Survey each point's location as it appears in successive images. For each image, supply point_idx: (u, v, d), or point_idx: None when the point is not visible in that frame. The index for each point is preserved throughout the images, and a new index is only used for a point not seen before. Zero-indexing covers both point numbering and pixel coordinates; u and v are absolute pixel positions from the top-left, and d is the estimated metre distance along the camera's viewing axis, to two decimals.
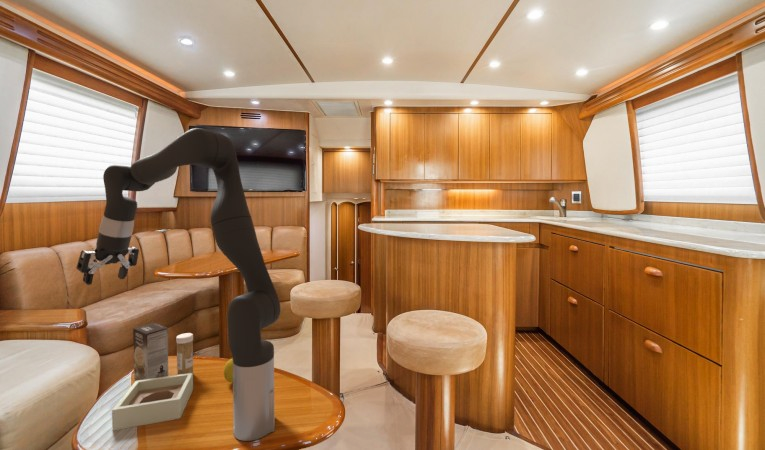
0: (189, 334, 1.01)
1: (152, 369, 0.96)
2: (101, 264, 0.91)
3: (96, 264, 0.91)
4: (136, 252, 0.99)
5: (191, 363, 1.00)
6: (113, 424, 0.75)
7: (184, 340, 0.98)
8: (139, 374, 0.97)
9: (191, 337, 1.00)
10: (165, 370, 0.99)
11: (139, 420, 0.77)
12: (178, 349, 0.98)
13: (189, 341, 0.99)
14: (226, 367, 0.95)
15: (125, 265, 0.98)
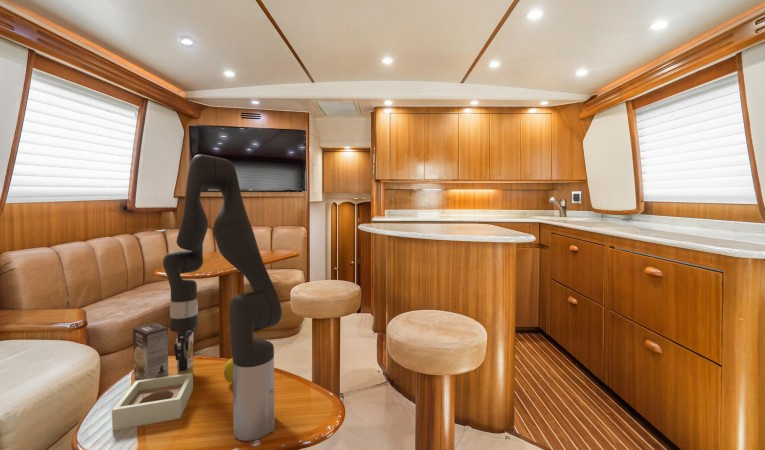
0: (189, 334, 1.01)
1: (152, 369, 0.96)
2: (189, 346, 0.99)
3: (186, 348, 0.98)
4: (193, 331, 1.06)
5: (191, 363, 1.00)
6: (113, 424, 0.75)
7: None
8: (139, 374, 0.97)
9: (191, 337, 1.00)
10: (165, 370, 0.99)
11: (139, 420, 0.77)
12: None
13: None
14: (226, 367, 0.95)
15: None
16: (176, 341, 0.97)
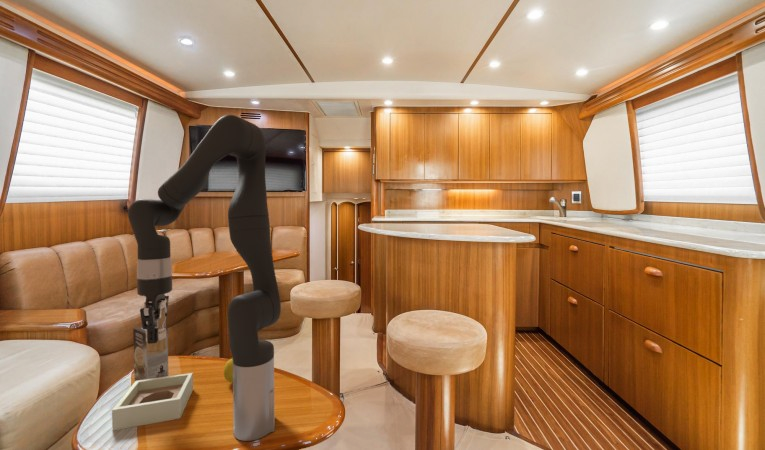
0: (161, 300, 0.84)
1: (152, 369, 0.96)
2: (160, 314, 0.82)
3: (157, 316, 0.81)
4: (167, 299, 0.89)
5: (163, 334, 0.84)
6: (113, 424, 0.75)
7: None
8: (139, 374, 0.97)
9: (163, 303, 0.83)
10: (165, 370, 0.99)
11: (139, 420, 0.77)
12: None
13: None
14: (226, 367, 0.95)
15: None
16: (144, 307, 0.81)
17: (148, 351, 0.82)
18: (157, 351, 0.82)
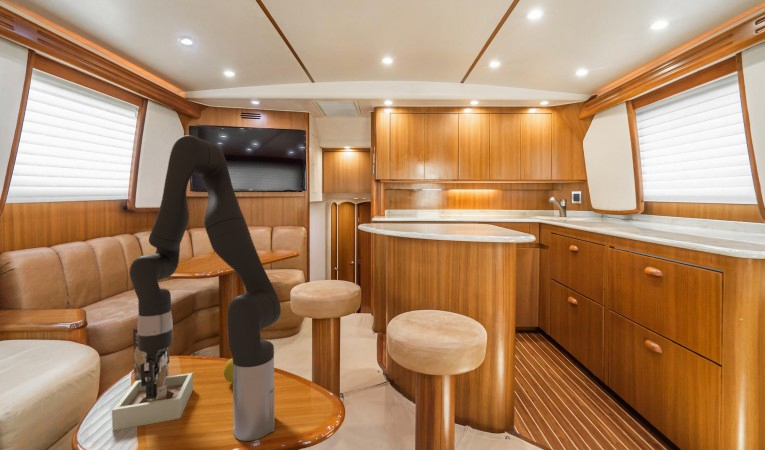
0: None
1: None
2: (160, 368, 0.82)
3: (156, 371, 0.81)
4: (168, 346, 0.90)
5: (164, 391, 0.84)
6: (113, 424, 0.75)
7: None
8: (139, 374, 0.97)
9: (163, 361, 0.84)
10: None
11: (139, 420, 0.77)
12: None
13: (161, 366, 0.83)
14: (226, 367, 0.95)
15: None
16: (145, 362, 0.81)
17: None
18: None
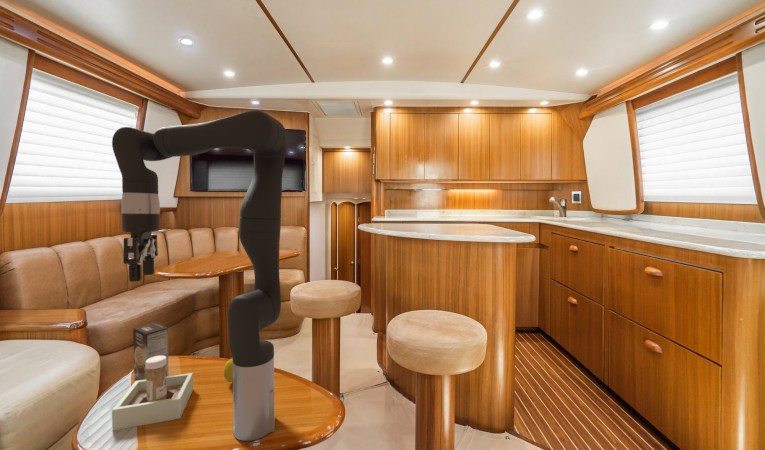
0: (161, 357, 0.85)
1: None
2: (145, 251, 0.76)
3: (141, 252, 0.75)
4: (156, 238, 0.84)
5: (164, 391, 0.84)
6: (113, 424, 0.75)
7: (155, 365, 0.82)
8: (139, 374, 0.97)
9: (164, 361, 0.84)
10: None
11: (139, 420, 0.77)
12: (147, 376, 0.82)
13: (161, 366, 0.83)
14: (226, 367, 0.95)
15: (153, 255, 0.82)
16: None
17: None
18: None
